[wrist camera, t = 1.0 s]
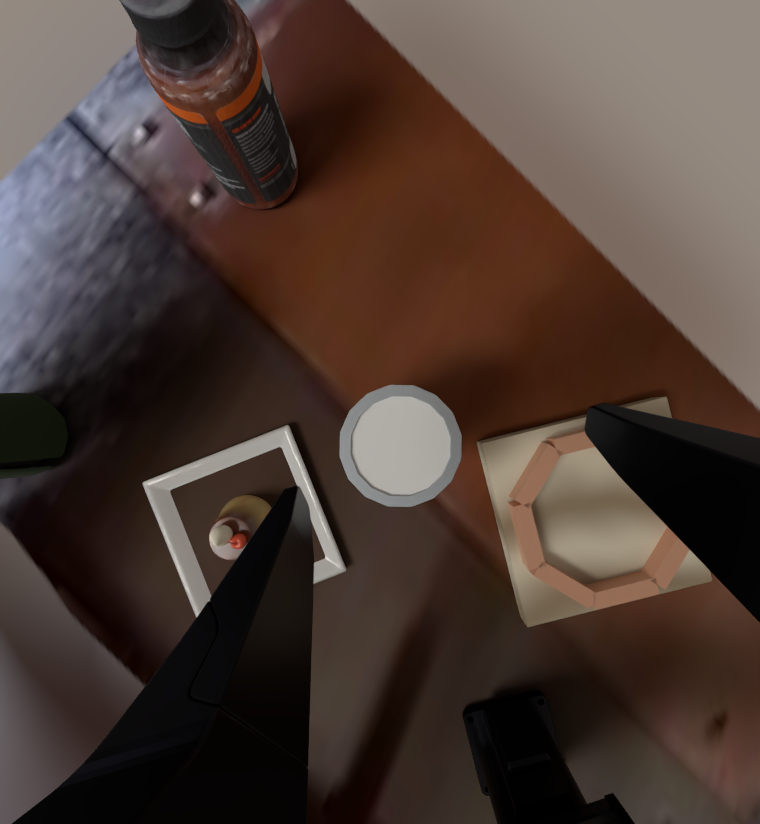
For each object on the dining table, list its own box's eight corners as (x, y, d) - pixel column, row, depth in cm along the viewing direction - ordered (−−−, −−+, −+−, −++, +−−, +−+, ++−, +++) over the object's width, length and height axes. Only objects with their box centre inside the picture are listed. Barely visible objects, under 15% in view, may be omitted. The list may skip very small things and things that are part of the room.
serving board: (695, 572, 24) (712, 581, 23) (520, 616, 24) (527, 627, 23) (652, 397, 24) (666, 396, 23) (476, 441, 24) (481, 443, 23)
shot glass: (408, 374, 24) (419, 359, 17) (456, 449, 24) (487, 465, 17) (333, 422, 24) (314, 427, 17) (381, 496, 24) (381, 532, 17)
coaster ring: (699, 573, 23) (713, 580, 22) (535, 614, 23) (542, 623, 22) (658, 409, 23) (671, 409, 22) (494, 451, 23) (499, 453, 22)
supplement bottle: (310, 150, 24) (248, -82, 13) (286, 224, 24) (203, 58, 13) (237, 126, 24) (108, -128, 13) (213, 199, 24) (64, 12, 13)
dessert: (348, 563, 25) (340, 600, 20) (208, 618, 25) (167, 668, 20) (292, 423, 25) (271, 427, 20) (152, 479, 25) (97, 496, 20)
